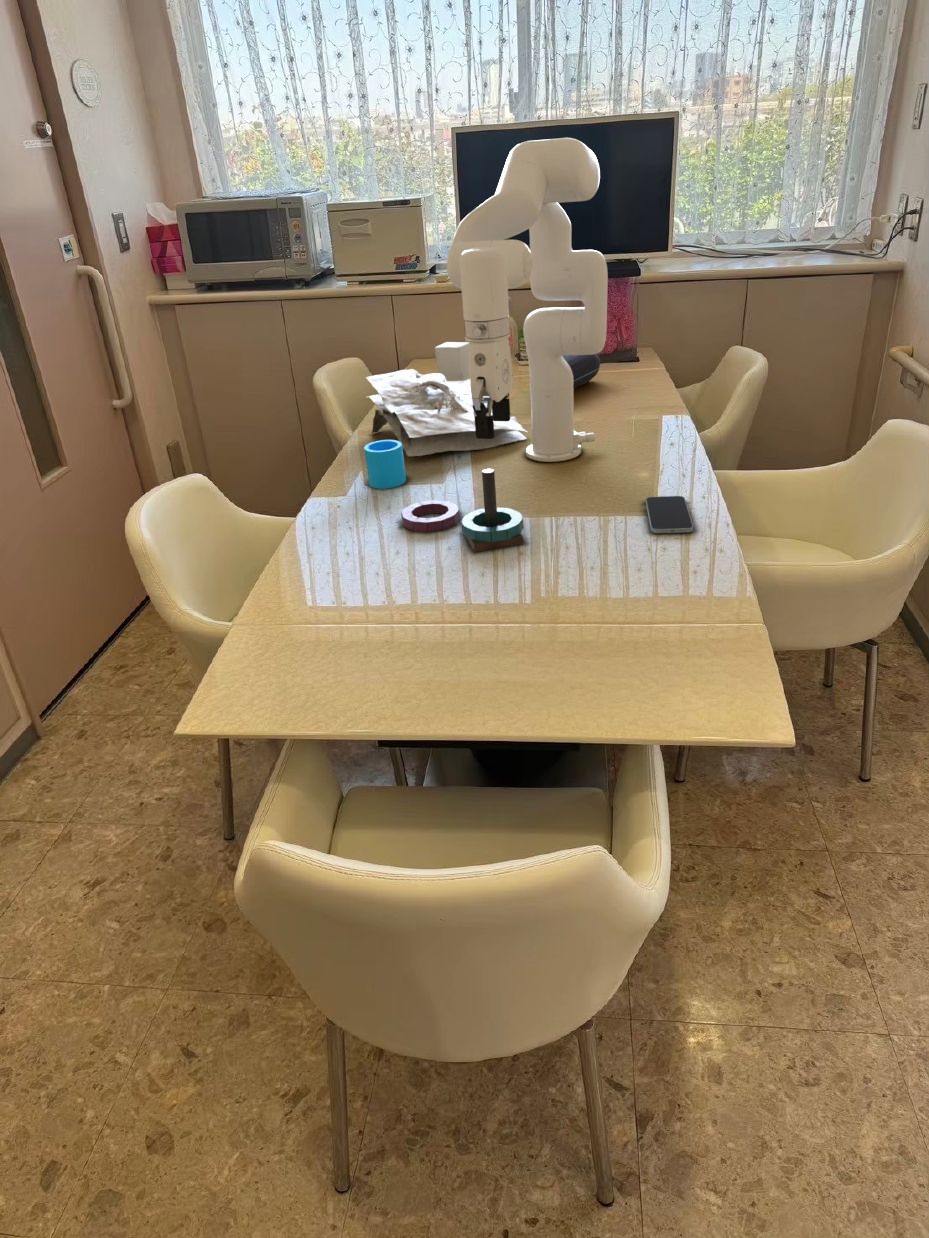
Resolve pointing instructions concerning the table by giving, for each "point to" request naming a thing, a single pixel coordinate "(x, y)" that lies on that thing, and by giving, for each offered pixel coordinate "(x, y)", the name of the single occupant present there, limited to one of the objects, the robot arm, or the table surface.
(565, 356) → the portable speaker
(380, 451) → the mug
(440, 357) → the cosmetic box
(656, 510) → the smartphone
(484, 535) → the teal ring
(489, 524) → the peg stand
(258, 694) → the table surface
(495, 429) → the plastic wrap
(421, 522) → the plum ring
